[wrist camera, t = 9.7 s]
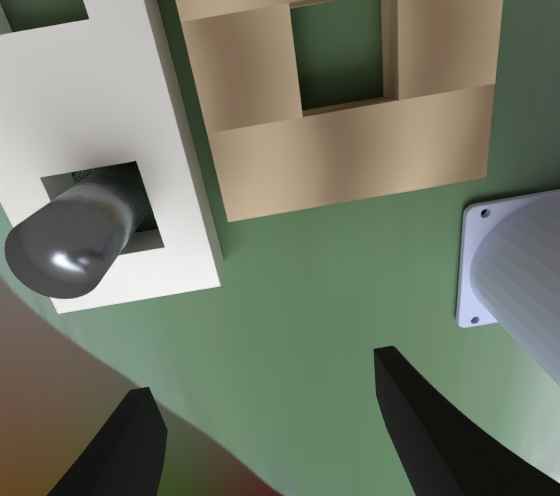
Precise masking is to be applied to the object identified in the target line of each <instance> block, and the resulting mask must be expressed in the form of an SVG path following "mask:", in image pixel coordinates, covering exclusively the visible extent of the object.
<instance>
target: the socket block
mask: <svg viewBox="0 0 560 496" xmlns="http://www.w3.org/2000/svg"><path fill="white" fill-rule="evenodd" d="M333 1H338V0H176V4H177V8H178V13H179V17H180V21H181V25H182V30H183V34H184V38H185V42H186V46H187V51H188V55H189V59H190V63H191V68H192V72H193V76H194V80H195V85H196V89H197V93H198V97H199V101H200V106H201V110H202V114H203V118H204V123H205V127H206V131H207V135H208V139H209V144H210V148H211V152H212V156H213V161H214V165H215V169H216V173H217V177H218V182H219V186H220V190H221V194H222V199H223V203H224V207H225V211H226V215H227V220H228V222H232V221H237V220H243V219H249V218H255V217H261V216H267V215H272V214H278V213H284V212H290V211H296V210H302V209H307V208H313V207H319V206H325V205H331V204H336V203H342V202H348V201H354V200H360V199H366V198H371V197H377V196H383V195H389V194H395V193H401V192H406V191H412V190H418V189H424V188H430V187H436V186H441V185H447V184H453V183H459V182H465V181H470V180H476V179H482V178H486V174H487V164H488V153H489V143H490V132H491V122H492V112H493V101H494V91H495V80H496V70H497V59H498V49H499V38H500V28H501V17H502V7H503V0H381V29H382V64H383V97H378V98H372V99H366V100H360V101H354V102H349V103H343V104H337V105H331V106H326V107H320V108H314V109H308V110H303V111H302V107H301V98H300V90H299V82H298V74H297V66H296V57H295V49H294V41H293V33H292V25H291V16H290V9H293V8H298V7H304V6H310V5H316V4H321V3H327V2H333Z"/></svg>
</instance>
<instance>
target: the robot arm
mask: <svg viewBox="0 0 560 496" xmlns="http://www.w3.org/2000/svg"><path fill="white" fill-rule="evenodd" d="M484 209H486V212H485V213H484V214H483V215H481V212H482V211H483V210H484ZM473 317H475V318H474V319H472V318H473ZM471 319H472V320H471ZM456 322H457V323H458V325H459V326H460V327H462V328H467V327H472V326H478V325H484V324H490V323H496V322H499V323H500V324H501V325H502V326H503V327H504V329H505V330H506V331H507V332H508V333H509V334H510V335H511V336H512V337H513V338H514V339H515V340H516V341H517V342H518V343H519V344H520V345H521V346H522V347H523V348H524V350H525V351H526V352H527V353H528V354H529V355H530V356H531V357H532V358H533V359H534V360H535V361H536V362H537V363H538V364H539V365H540V366H541V367H542V368H543V369H544V371H545V372H546V373H547V374H548V375H549V376H550V377H551V378H552V379H553V380H554V381H555V382H556V383H557V384H558V385H559V386H560V189H557V190H551V191H545V192H540V193H534V194H528V195H522V196H516V197H510V198H505V199H499V200H493V201H487V202H481V203H475V204H472V205H469V206H468V207H467V208H466V209H465V210H464V213H463V225H462V240H461V254H460V268H459V282H458V296H457V311H456ZM374 366H375V384H376V396H377V400H378V403H379V406H380V409H381V413H382V416H383V419H384V422H385V425H386V428H387V430H388V433H389V435H390V437H391V440H392V442H393V444H394V447H395V449H396V451H397V453H398V456H399V458H400V460H401V463H402V465H403V467H404V470H405V472H406V474H407V476H408V479H409V481H410V483H411V486H412V488H413V490H414V493H415V495H416V496H560V483H558V482H557V481H555V480H554V479H552V478H551V477H549V476H547V475H546V474H544V473H543V472H541V471H540V470H538V469H537V468H535V467H533V466H532V465H530V464H529V463H527V462H526V461H524V460H523V459H522V458H520V457H519V456H517V455H516V454H514V453H513V452H512V451H510V450H509V449H507V448H506V447H505V446H503V445H502V444H501V443H499V442H498V441H497V440H495V439H494V438H493V437H491V436H490V435H489V434H487V433H486V432H485V431H484V430H482V429H481V428H480V427H478V426H477V425H476V424H475V423H474V422H472V421H471V420H470V419H469V418H468V417H466V416H465V415H464V414H463V413H462V412H461V411H459V410H458V409H457V408H456V407H455V406H454V405H452V404H451V403H450V402H449V401H448V400H447V399H446V398H445V397H444V396H443V395H442V394H440V393H439V392H438V391H437V390H436V389H435V388H434V387H433V386H432V385H431V384H430V383H429V382H428V381H427V380H426V379H425V378H424V377H423V376H422V375H421V374H420V373H419V372H418V371H417V370H416V369H415V368H414V367H413V366H412V365H411V364H410V363H409V362H408V361H407V360H406V359H405V357H404V356H403V355H402V354H401V353H400V352H399V351H398V350H397V348H395V347H394V346H388V347H382V348H376V349H374ZM167 431H168V430H167V428H166V425H165V423H164V421H163V418H162V416H161V414H160V411H159V409H158V407H157V404H156V402H155V400H154V398H153V395H152V393H151V391H150V388H149V387H145V388H139V389H133V390H130V391H129V392H128V393H127V395H126V396H125V397H124V399H123V400H122V401H121V403H120V404H119V405H118V406H117V408H116V409H115V411H114V412H113V413H112V415H111V416H110V417H109V419H108V420H107V421H106V423H105V424H104V425H103V427H102V428H101V429H100V431H99V432H98V433H97V435H96V436H95V437H94V438H93V440H92V441H91V442H90V444H89V445H88V446H87V448H86V449H85V450H84V451H83V453H82V454H81V455H80V456H79V458H78V459H77V460H76V462H75V463H74V464H73V465H72V466H71V467H70V469H69V470H68V471H67V472H66V473H65V475H64V476H63V477H62V478H61V480H60V481H59V482H58V483H57V484H56V485H55V487H54V488H53V489H52V490H51V491H50V492H49V494H48V495H47V496H156V495H157V491H158V487H159V482H160V478H161V474H162V469H163V464H164V457H165V450H166V440H167Z"/></svg>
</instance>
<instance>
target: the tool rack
mask: <svg viewBox="0 0 560 496" xmlns="http://www.w3.org/2000/svg"><path fill="white" fill-rule="evenodd" d="M83 1H84V4H85V7H86V10H87V13H88V16H89V19H87V20H81V21H76V22H70V23H64V24H59V25H53V26H47V27H42V28H36V29H30V30H25V31H19V32H12V30H11V27H10V25H9V23H8V20H7V18H6V15H5V13H4V11H3V8H2V6H1V3H0V203H1V205H2V206H3V208H4V210H5V212H6V214H7V216H8V218H9V220H10V222H11V224H12V226H13V228H14V227H15V226H16V225H18V224H19V223H21V222H22V221H23V220H25V219H26V218H28V217H29V216H31V215H32V214H33V213H35V212H36V211H38V210H39V209H41V208H42V207H44V206H45V205H46V204H48V203H49V202H51V201H52V200H54V199H55V198H57V197H58V196H59V195H61V194H62V193H64V192H65V191H67V190H68V189H70V188H71V187H72V186H74V185H75V181H74V179H73V177H72V174H71V172H75V171H81V170H86V169H92V168H98V167H104V166H109V165H115V164H121V163H127V162H133V161H136V162H137V165H138V168H139V171H140V174H141V177H142V180H143V183H144V186H145V189H146V192H147V195H148V198H149V201H150V204H151V207H152V210H153V213H154V216H155V219H156V222H157V225H158V228H159V229H155V230H149V231H143V232H137V233H133V235H132V236H131V238H130V239H129V241H128V242H127V244H126V245H125V247H124V248H123V249H122V251H121V252H120V254H119V255H118V257H117V258H116V260H115V261H114V263H113V264H112V265H111V267H110V268H109V270H108V271H107V273H106V274H105V276H104V277H103V278H102V280H101V281H100V283H99V284H98V285H97V287H96V288H95V289H94V290H92V291H91V292H90V293H88V294H86V295H84V296H81V297H78V298H73V299H57V298H51V297H50V298H51V300H52V302H53V304H54V306H55V308H56V310H57V312H58V314H59V313H65V312H71V311H77V310H83V309H89V308H95V307H100V306H106V305H112V304H118V303H124V302H130V301H136V300H141V299H147V298H153V297H159V296H165V295H171V294H177V293H183V292H188V291H194V290H200V289H206V288H212V287H218V286H221V279H222V272H223V264H224V260H223V256H222V252H221V248H220V244H219V240H218V237H217V233H216V229H215V225H214V221H213V217H212V213H211V209H210V205H209V201H208V197H207V193H206V190H205V186H204V182H203V178H202V174H201V170H200V166H199V162H198V158H197V154H196V150H195V146H194V143H193V139H192V135H191V131H190V127H189V123H188V119H187V115H186V111H185V107H184V103H183V99H182V96H181V92H180V88H179V84H178V80H177V76H176V72H175V68H174V64H173V60H172V56H171V52H170V49H169V45H168V41H167V37H166V33H165V29H164V25H163V21H162V17H161V13H160V9H159V6H158V2H157V0H83Z"/></svg>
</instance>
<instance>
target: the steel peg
mask: <svg viewBox="0 0 560 496" xmlns="http://www.w3.org/2000/svg"><path fill="white" fill-rule="evenodd" d="M150 209H151V204H150V201H149V198H148V195H147V192H146V189H145V186H144V183H143V180H142V177H141V174H140V171H139V169H137V168H136V167H134V166H132V165H129V164H126V163H121V164H115V165H109V166H104V167H100V168H98V169H97V170H95V171H94V172H93V173H91V174H90V175H88V176H87V177H85V178H84V179H82V180H81V181H80V182H78V183H77V184H75V185H74V186H72V187H71V188H70V189H68V190H67V191H65V192H64V193H62V194H61V195H59V196H58V197H57V198H55V199H54V200H52V201H51V202H49V203H48V204H46V205H45V206H44V207H42V208H41V209H39V210H38V211H36V212H35V213H33V214H32V215H31V216H29V217H28V218H26V219H25V220H23V221H22V222H21V223H19V224H18V225H16V226H15V227H14V228H13V229H12V230H11V231H10V233H9V234H8V236H7V239H6V242H5V256H6V260H7V263H8V265H9V267H10V269H11V271H12V272H13V274H14V275H15V276H16V277H17V278H18V279H19V280H20V281H21V282H22V283H23V284H24V285H25V286H27V287H28V288H30V289H31V290H33V291H35V292H37V293H39V294H41V295H44V296H47V297H51V298H57V299H73V298H78V297H81V296H84V295H86V294H88V293H90V292H91V291H92V290H94V289H95V288H96V287H97V285H98V284H99V283H100V281H101V280H102V278H103V277H104V276H105V274H106V273H107V271H108V270H109V268H110V267H111V265H112V264H113V263H114V261H115V260H116V258H117V257H118V255H119V254H120V252H121V251H122V249H123V248H124V247H125V245H126V244H127V242H128V241H129V239H130V238H131V236H132V235H133V233H134V232H135V231H136V229H137V228H138V226H139V225H140V223H141V222H142V220H143V219H144V217H145V216H146V215H147V213H148V212H149V210H150Z"/></svg>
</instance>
